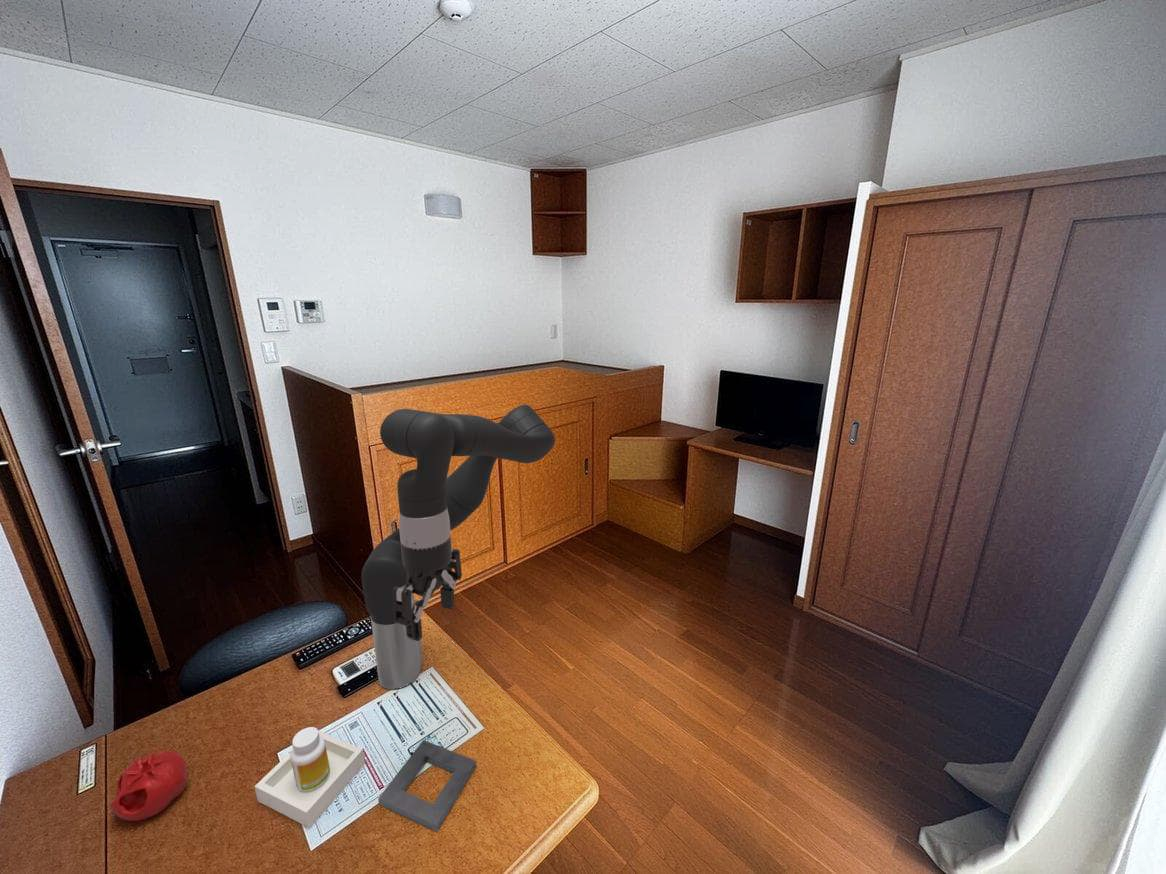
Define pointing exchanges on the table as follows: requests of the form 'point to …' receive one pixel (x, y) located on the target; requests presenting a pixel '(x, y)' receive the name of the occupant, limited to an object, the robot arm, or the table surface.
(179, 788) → the pomegranate
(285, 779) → the bin
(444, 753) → the socket plate
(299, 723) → the table surface
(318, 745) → the supplement bottle
